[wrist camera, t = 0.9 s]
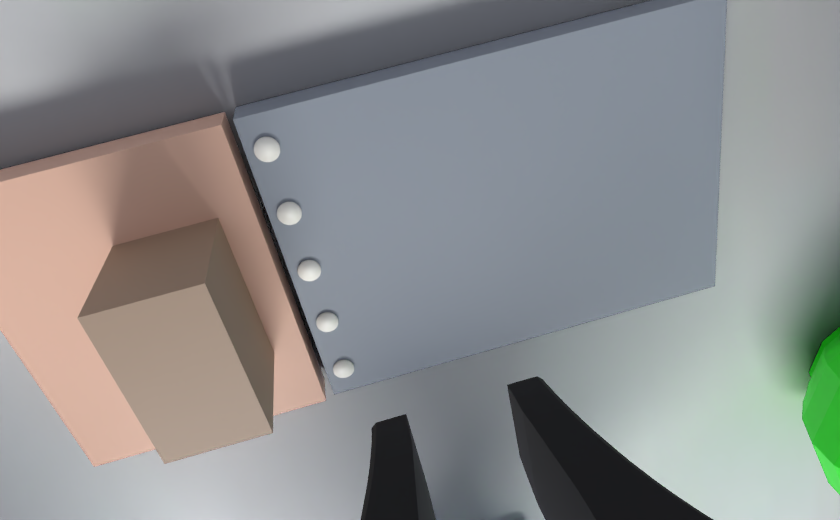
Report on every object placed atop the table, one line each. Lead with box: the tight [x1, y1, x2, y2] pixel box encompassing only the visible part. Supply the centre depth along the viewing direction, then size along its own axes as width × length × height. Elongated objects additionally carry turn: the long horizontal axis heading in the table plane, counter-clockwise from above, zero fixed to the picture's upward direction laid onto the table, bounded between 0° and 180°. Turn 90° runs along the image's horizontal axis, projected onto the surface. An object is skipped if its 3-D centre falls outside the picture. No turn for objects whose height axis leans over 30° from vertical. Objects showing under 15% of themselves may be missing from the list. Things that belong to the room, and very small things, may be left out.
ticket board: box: [233, 0, 727, 394], centre depth 20 cm, size 10×14×1 cm
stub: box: [0, 112, 326, 467], centre depth 18 cm, size 10×8×5 cm
